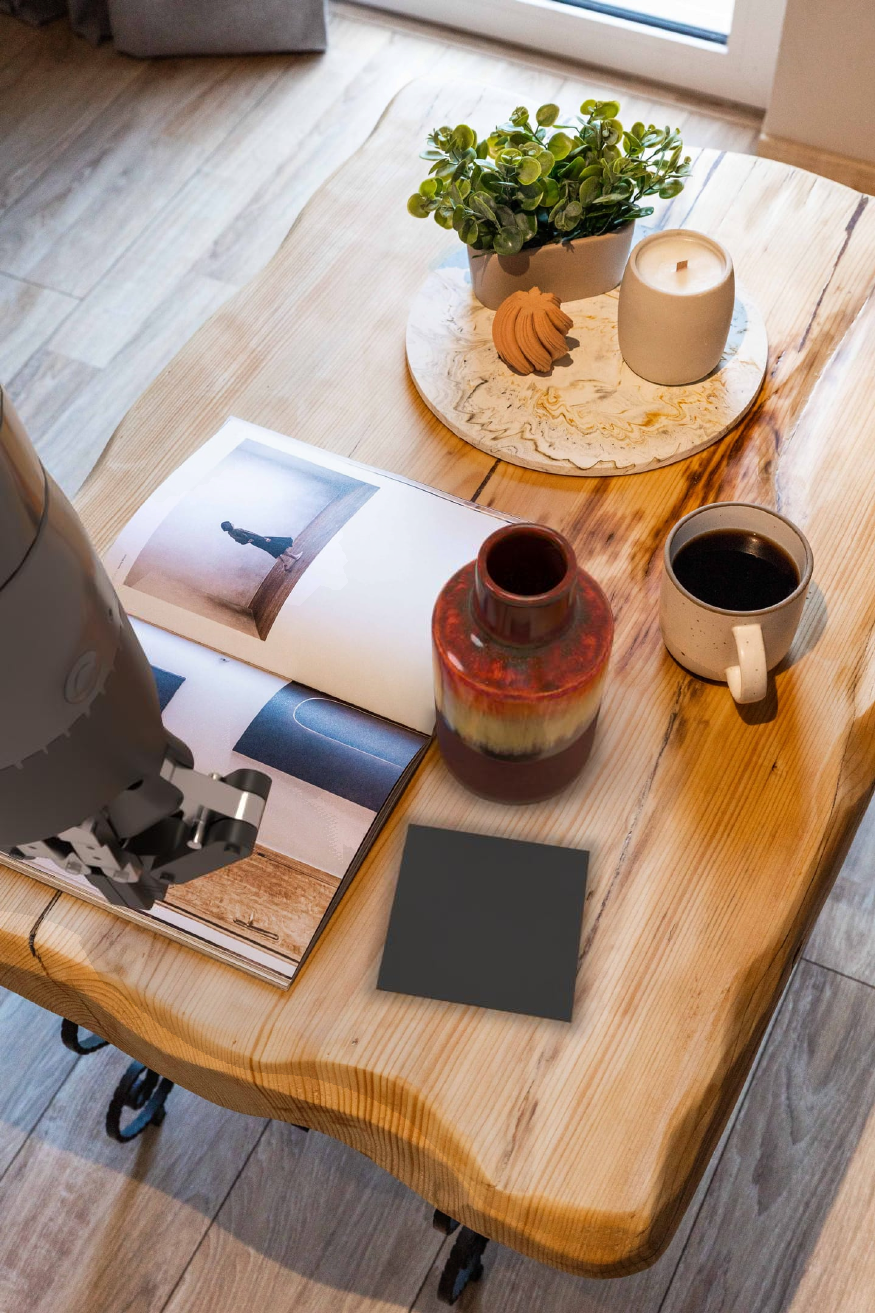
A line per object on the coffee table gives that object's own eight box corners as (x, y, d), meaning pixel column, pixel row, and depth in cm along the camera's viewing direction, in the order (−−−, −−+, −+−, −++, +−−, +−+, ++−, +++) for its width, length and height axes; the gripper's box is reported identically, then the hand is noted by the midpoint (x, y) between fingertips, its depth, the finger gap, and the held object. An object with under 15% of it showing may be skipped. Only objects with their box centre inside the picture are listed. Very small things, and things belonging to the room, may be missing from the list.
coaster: (376, 989, 68) (375, 988, 68) (409, 824, 74) (409, 823, 74) (570, 1022, 67) (571, 1021, 67) (589, 851, 72) (589, 851, 72)
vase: (524, 837, 73) (540, 683, 56) (404, 740, 77) (385, 568, 60) (624, 728, 77) (668, 552, 60) (505, 641, 81) (514, 452, 64)
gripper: (264, 550, 28) (334, 819, 43) (-214, 487, 30) (12, 768, 44) (178, 821, 24) (287, 1014, 39) (-367, 733, 26) (-63, 951, 41)
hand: (140, 882), depth 42 cm, fingers closed
